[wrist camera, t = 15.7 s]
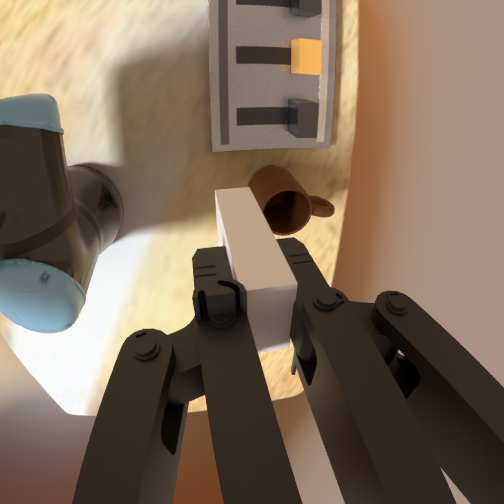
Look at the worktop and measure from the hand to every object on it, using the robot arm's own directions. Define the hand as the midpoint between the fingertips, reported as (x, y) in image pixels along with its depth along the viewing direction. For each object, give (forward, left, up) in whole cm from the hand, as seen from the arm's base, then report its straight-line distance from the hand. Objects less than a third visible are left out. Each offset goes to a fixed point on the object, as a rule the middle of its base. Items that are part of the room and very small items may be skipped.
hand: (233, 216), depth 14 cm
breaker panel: (+6, +12, -32) cm, 35 cm away
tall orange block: (+9, +13, -30) cm, 34 cm away
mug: (+17, -7, -33) cm, 37 cm away
